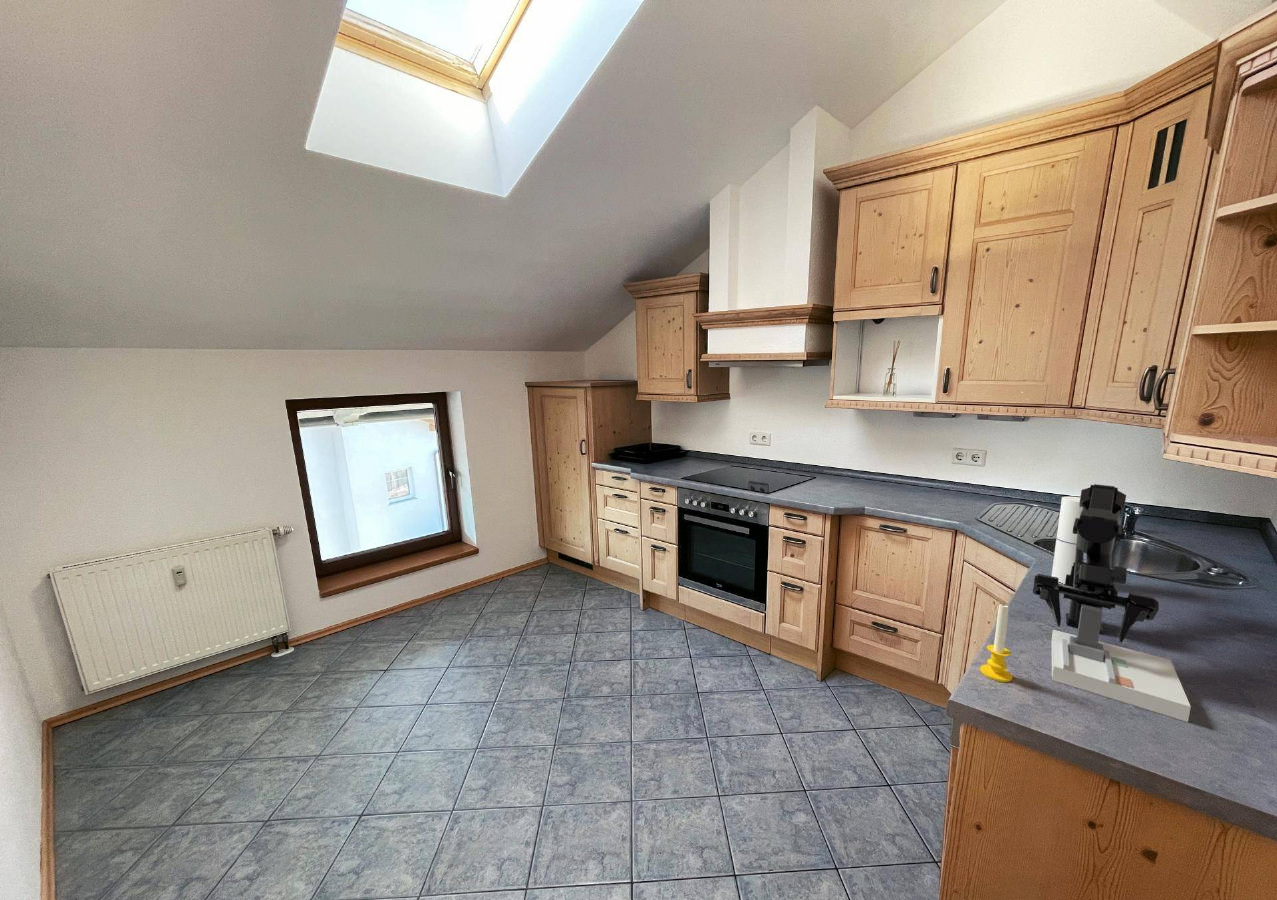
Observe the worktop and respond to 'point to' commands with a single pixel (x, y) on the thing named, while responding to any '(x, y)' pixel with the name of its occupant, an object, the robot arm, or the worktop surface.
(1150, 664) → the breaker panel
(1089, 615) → the handle
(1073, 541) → the cylindrical container
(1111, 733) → the worktop surface
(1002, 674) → the candle
